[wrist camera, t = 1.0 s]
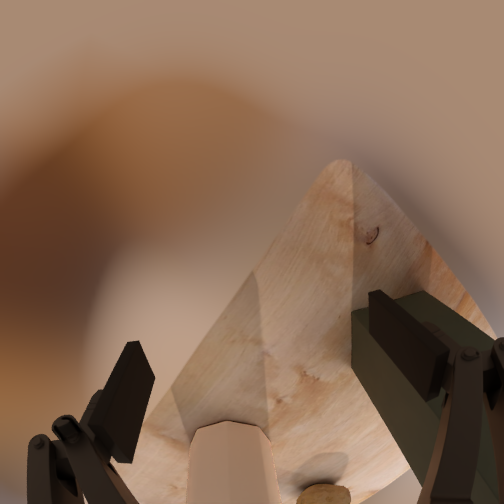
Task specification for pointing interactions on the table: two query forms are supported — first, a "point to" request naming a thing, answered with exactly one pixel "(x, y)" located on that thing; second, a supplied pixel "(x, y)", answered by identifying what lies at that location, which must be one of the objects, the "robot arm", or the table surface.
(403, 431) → the stand
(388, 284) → the table surface
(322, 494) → the cut tuber
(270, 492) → the cup
